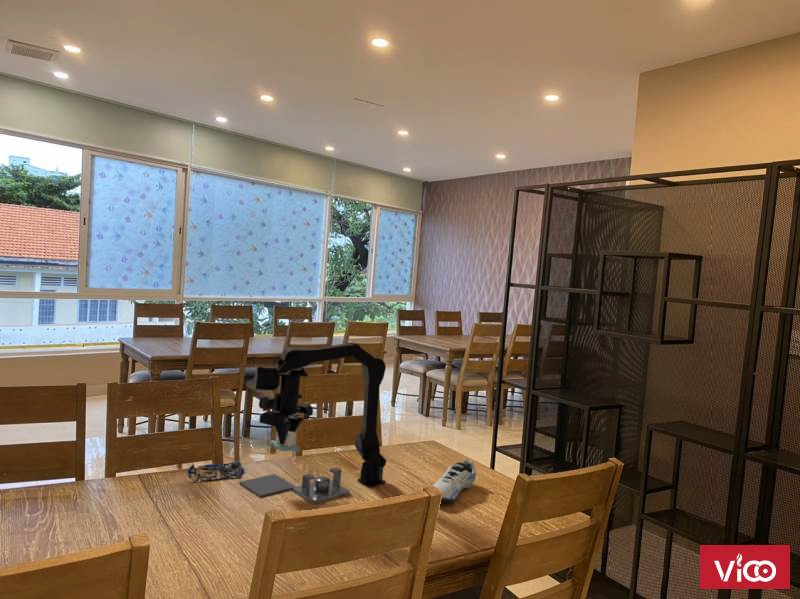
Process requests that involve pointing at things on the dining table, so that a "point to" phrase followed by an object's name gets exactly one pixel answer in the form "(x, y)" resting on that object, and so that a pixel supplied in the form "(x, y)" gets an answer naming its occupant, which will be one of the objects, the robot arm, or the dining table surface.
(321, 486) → the grey plate with upright
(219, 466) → the dark blue patterned slab
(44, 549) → the dining table surface
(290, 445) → the cap
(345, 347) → the robot arm
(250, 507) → the dining table surface
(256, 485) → the mat
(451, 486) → the running shoe
